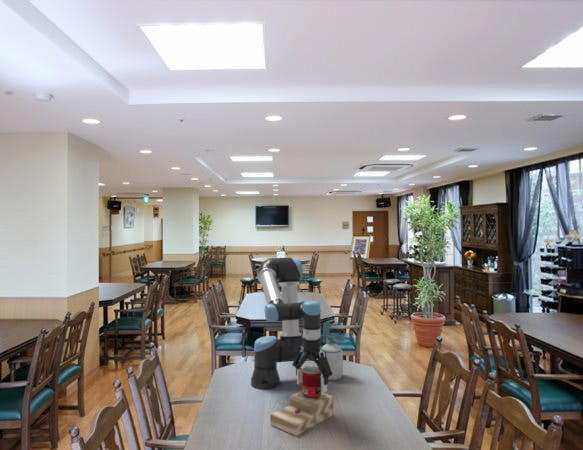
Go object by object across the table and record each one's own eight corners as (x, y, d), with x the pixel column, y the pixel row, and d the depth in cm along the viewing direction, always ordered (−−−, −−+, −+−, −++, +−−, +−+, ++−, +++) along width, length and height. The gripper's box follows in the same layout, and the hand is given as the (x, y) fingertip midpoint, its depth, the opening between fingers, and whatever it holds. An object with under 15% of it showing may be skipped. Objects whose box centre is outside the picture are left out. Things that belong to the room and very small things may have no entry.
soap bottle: (334, 383, 208) (334, 322, 208) (315, 377, 216) (315, 319, 216) (347, 376, 217) (347, 318, 217) (328, 371, 225) (328, 315, 225)
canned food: (319, 399, 168) (319, 373, 168) (300, 397, 170) (300, 371, 170) (322, 392, 176) (322, 367, 176) (304, 390, 177) (303, 365, 177)
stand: (296, 436, 155) (296, 414, 155) (270, 424, 164) (270, 403, 164) (333, 414, 172) (333, 395, 172) (308, 405, 182) (308, 386, 182)
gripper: (284, 334, 179) (284, 382, 178) (329, 345, 162) (329, 398, 162) (295, 331, 184) (295, 377, 184) (340, 341, 167) (340, 392, 167)
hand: (311, 387), depth 173 cm, fingers open, 13 cm apart
